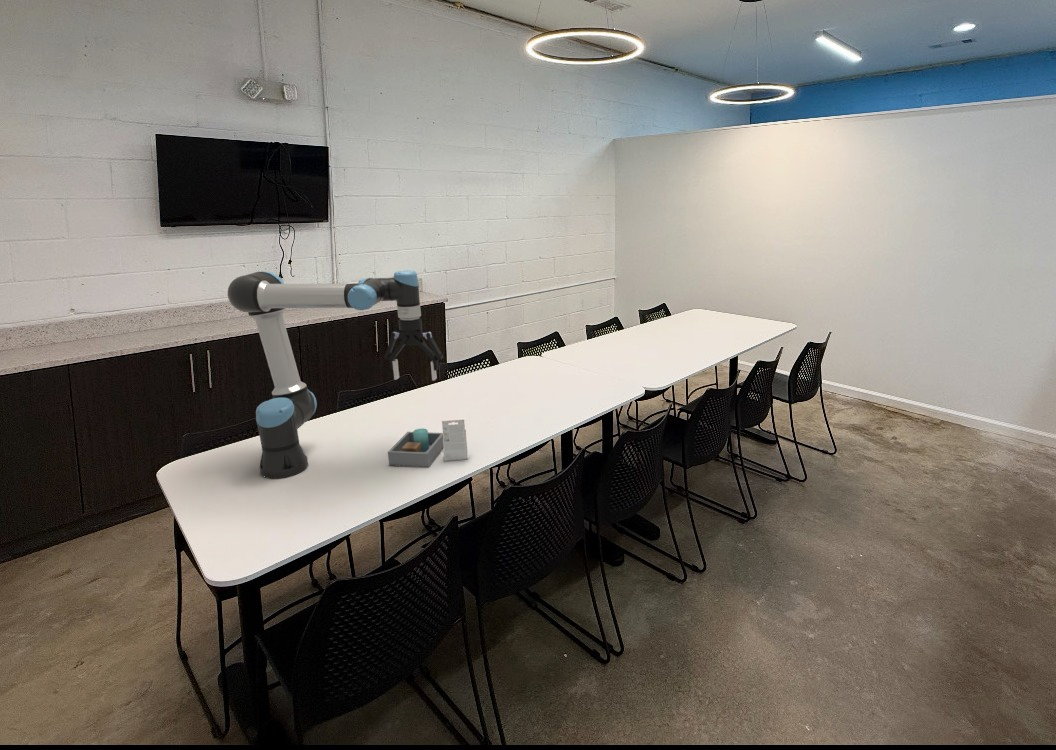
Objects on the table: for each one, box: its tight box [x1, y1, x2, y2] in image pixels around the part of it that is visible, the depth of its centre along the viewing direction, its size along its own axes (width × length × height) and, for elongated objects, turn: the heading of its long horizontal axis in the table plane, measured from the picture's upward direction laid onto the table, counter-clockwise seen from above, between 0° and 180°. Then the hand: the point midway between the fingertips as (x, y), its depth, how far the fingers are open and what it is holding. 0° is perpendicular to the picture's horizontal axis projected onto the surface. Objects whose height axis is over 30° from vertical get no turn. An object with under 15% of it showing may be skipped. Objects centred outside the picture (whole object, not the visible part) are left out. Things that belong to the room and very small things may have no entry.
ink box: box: [441, 419, 469, 462], centre depth 199 cm, size 4×8×15 cm, turn 96°
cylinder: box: [412, 428, 429, 452], centre depth 207 cm, size 5×5×7 cm
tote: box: [387, 431, 444, 468], centre depth 204 cm, size 14×18×5 cm
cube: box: [402, 442, 422, 452], centre depth 200 cm, size 5×5×5 cm
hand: (415, 379), depth 201 cm, fingers open, 13 cm apart
